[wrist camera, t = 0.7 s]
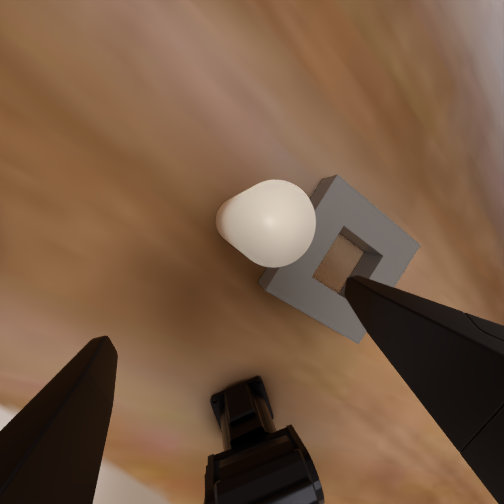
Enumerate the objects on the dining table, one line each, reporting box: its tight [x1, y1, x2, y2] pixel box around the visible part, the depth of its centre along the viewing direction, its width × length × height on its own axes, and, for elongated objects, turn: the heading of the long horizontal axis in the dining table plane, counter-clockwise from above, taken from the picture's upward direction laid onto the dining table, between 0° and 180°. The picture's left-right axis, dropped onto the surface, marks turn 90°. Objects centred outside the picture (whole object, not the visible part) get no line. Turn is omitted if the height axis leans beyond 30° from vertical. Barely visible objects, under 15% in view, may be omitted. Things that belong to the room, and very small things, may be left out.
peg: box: [216, 180, 316, 268], centre depth 19 cm, size 5×5×12 cm
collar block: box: [258, 175, 420, 344], centre depth 26 cm, size 14×14×3 cm
